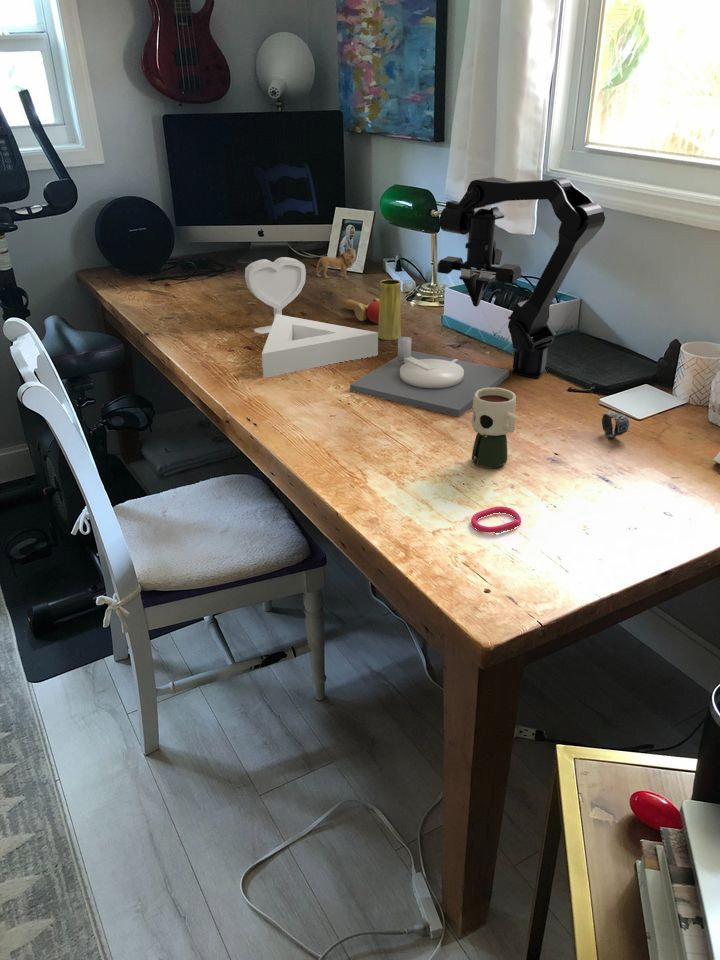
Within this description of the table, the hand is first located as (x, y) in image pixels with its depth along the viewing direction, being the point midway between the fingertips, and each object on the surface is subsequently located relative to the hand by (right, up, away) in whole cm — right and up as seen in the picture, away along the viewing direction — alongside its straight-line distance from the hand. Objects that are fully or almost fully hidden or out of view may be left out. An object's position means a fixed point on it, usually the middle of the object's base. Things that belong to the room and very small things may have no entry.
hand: (476, 306), depth 179 cm
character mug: (-4, -38, -43) cm, 58 cm away
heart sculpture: (-49, 0, +25) cm, 55 cm away
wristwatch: (+21, -33, -34) cm, 52 cm away
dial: (-13, -17, -10) cm, 23 cm away
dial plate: (-12, -20, -10) cm, 25 cm away
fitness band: (-6, -48, -60) cm, 77 cm away
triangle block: (-43, -13, +3) cm, 45 cm away
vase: (-20, -4, +18) cm, 27 cm away
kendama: (-26, +4, +33) cm, 42 cm away
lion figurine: (-35, +26, +72) cm, 84 cm away
